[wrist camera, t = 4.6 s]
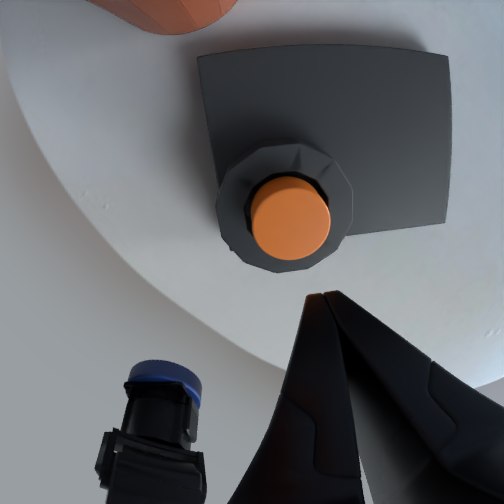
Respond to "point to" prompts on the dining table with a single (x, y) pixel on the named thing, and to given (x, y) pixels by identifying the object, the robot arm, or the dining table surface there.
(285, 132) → the scale
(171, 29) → the jar
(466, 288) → the dining table surface
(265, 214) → the button
